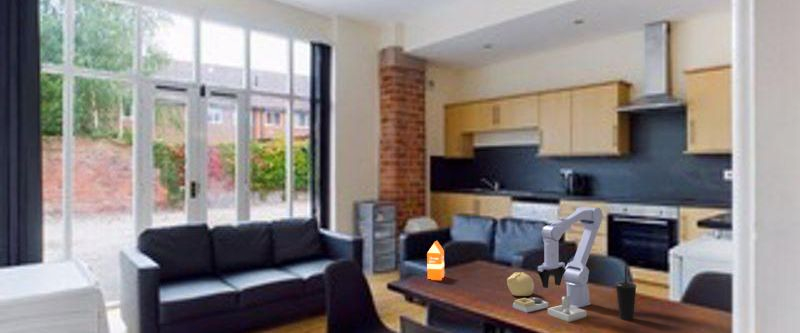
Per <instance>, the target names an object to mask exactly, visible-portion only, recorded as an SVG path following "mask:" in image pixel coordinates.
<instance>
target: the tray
mask: <svg viewBox="0 0 800 333" xmlns="http://www.w3.org/2000/svg"><path fill="white" fill-rule="evenodd" d="M547 316H550V317H553V318H556V319H559V320H561V321H564V322H567V323H570V322H571V323H572V322H574V321H578V320H580V319H581V320H582V319H584V318H587V310H586V309H583V308H580V307H579V308H576V307H573V306H570V314H569V315H568V314H565V313H562V304H560V305H556V306H552V307H547Z"/></svg>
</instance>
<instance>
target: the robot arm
mask: <svg viewBox="0 0 800 333" xmlns="http://www.w3.org/2000/svg"><path fill="white" fill-rule="evenodd" d="M603 218H604V215H603V212H602V209H601V208H600V207H590V206H582V205H580V206H579V207H577V208H575V211H574V212H573V213H571V214H570V215H568V216H567V217H559V218H558V220H556V221H554V222H552V223H551V224H550V225H549V224H548V225H545V226H544V227H542V229H541V232H540V234H541V237H542V242H543V243H544V244H543V246H544V247H543V248H544V250H543V252H544V257H543V258H544V262H543V263H542V264H541V265H538V266H537V271H536V272H537V274H538V276H539V278H540V281H541V285H542V287H543V288H545V289H548V288H549V278H550V277H551V272H549V271H551V270H552V272H553V276H554V285H555V286H561V283H562V280H563V281H564V284H566V296H568V297H570V306H573V307H576V308H579V309H580V308H582V307H586V306H589V305H591V304H592V303H591V302H590V288H589V286H588V284H587V283H588V281H589V274H590V270H589V268H588V267H587V266H586V265H587V263H588V259H589V257H590V254H591V251H592V248H593V245H594V243H595V241H596V237H597V235H598V232H599V229H600V227H601V224H602V222H603V221H602V220H603ZM578 222H579V223H580V225H581V226H582V227H583V228H584V231H583V233H582V235H581V238H580V241H579V244H578V247H577V250H576V252H575V255H574V257H573V260H572V261H570V262H568V263H567V264H566V265H565V262H562V261H561V262H560V261H559V260H560V259H559V258H560V257H559V249H560V248H559V245H560V244H559V241H560V239H561V238H562V236H563V234H564V233H566V232H567V231H569V230H571V228H572V225H574V224H576V223H578ZM548 270H549V271H548Z"/></svg>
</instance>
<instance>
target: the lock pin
mask: <svg viewBox="0 0 800 333" xmlns="http://www.w3.org/2000/svg"><path fill="white" fill-rule="evenodd" d="M561 305H562V313H565V314H568V315H569V314H570V297H568V296H567V295H562V296H561Z"/></svg>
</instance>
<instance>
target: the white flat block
mask: <svg viewBox="0 0 800 333" xmlns="http://www.w3.org/2000/svg"><path fill="white" fill-rule="evenodd" d="M512 308H513V309H516V310H519V311H521V312H524V313H530V312H535V311H538V310H543V309H548V308H549V302H548V301H545V300H543V299H542V298H540V297H534V296H532V297H529V298H526V297H523V298H518V299H514V302H513V303H512Z"/></svg>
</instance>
